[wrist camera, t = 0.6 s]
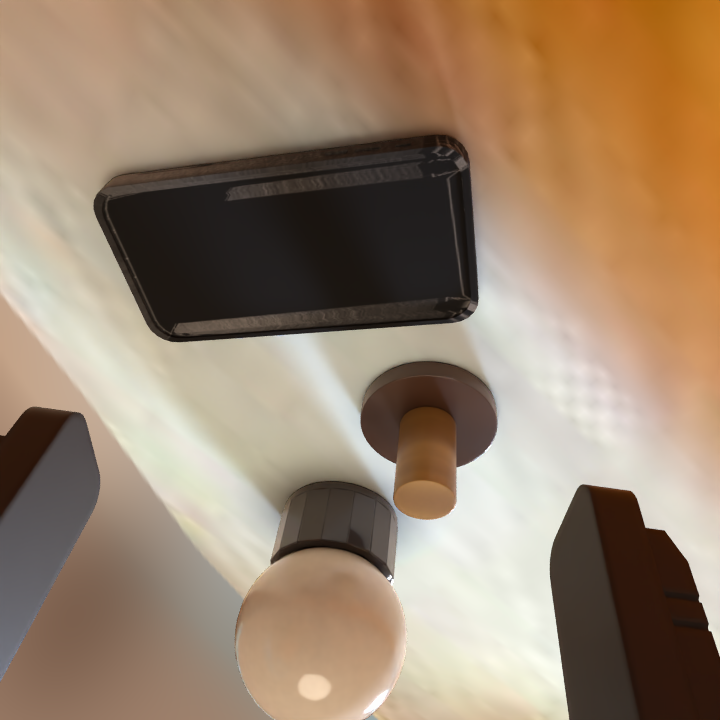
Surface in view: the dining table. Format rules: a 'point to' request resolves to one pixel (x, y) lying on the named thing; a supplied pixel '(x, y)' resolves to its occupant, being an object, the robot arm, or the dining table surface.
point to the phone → (299, 241)
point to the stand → (339, 523)
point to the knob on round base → (428, 431)
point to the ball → (321, 637)
